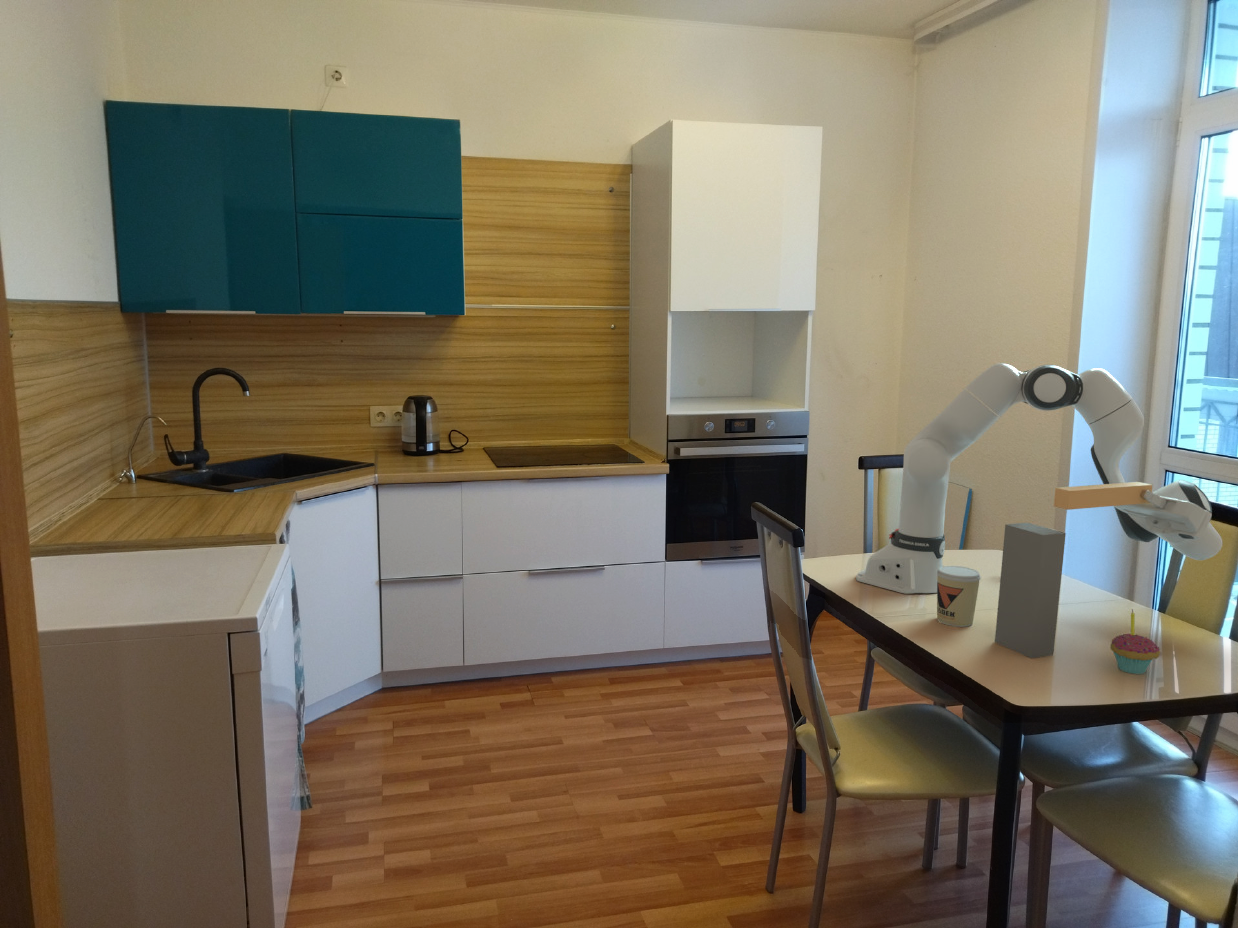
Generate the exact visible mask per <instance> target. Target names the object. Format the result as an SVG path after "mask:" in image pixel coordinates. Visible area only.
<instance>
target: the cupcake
mask: <svg viewBox="0 0 1238 928" xmlns="http://www.w3.org/2000/svg"><path fill="white" fill-rule="evenodd" d="M1135 616H1136V615H1135V613H1134V609H1133V608H1131V613H1130V633H1124V634H1119V635H1117V636H1115V637H1113V638H1112V639H1111V643H1110V650H1111V651H1112V652H1113V655H1114V657H1115V659H1116V665H1117V668H1118V669H1119V671H1122V672H1125V673H1127V674H1128V673H1129V674H1133V675H1142V674H1143V675H1144V674H1145V673H1146V671H1148V670H1147V669H1148V668H1149V666H1150V664H1151V662H1152V661H1153V660H1155V659H1156V660H1157V659H1158V658H1159V657H1160V656H1161V649H1160V647H1158V645H1157V643H1155V642H1154V641H1153V640H1152V639H1150V638H1148V637H1147V636H1145V637H1144V636H1143V635H1139V634H1136V633H1135V625H1136V624H1135V621H1136V620H1135Z"/></svg>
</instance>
